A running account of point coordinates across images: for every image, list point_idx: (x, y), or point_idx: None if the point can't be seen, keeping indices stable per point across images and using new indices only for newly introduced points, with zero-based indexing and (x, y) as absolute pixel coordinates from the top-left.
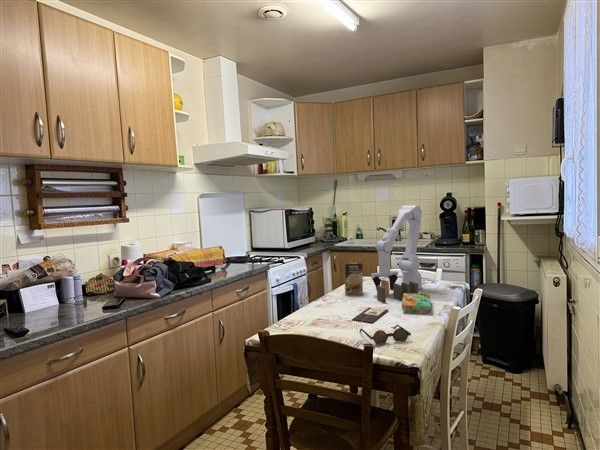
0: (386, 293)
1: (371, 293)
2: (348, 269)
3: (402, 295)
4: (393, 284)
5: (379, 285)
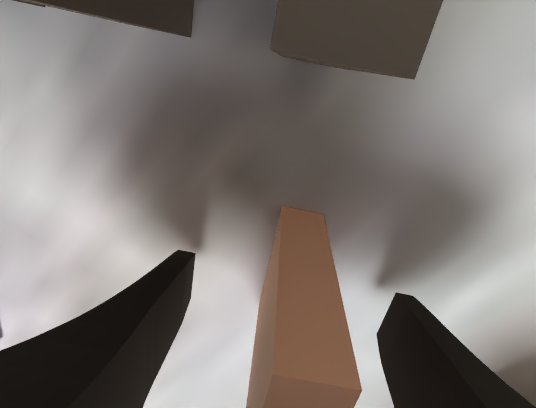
0: (325, 227)
1: (376, 362)
2: None
3: (184, 4)
4: (409, 63)
5: (473, 372)
